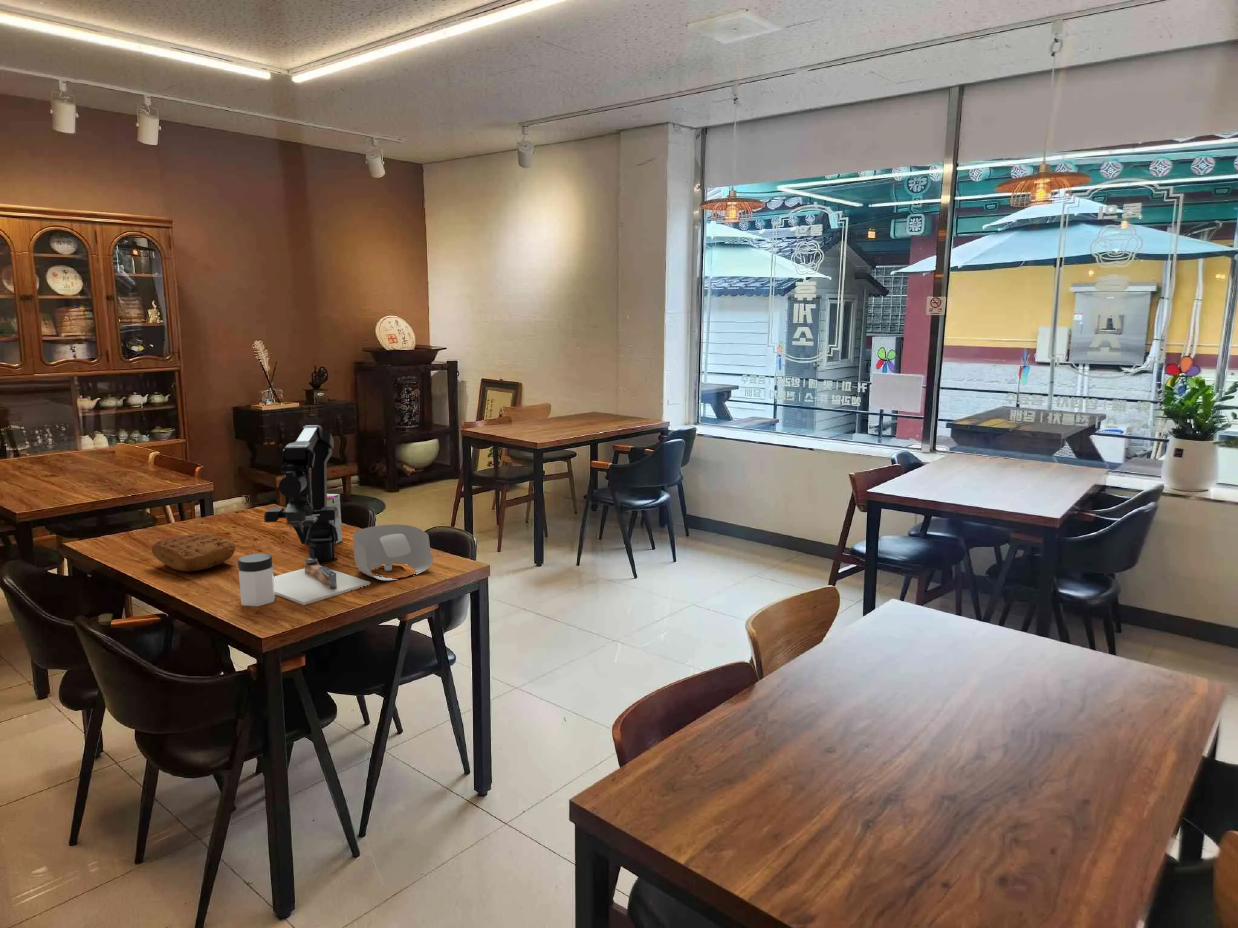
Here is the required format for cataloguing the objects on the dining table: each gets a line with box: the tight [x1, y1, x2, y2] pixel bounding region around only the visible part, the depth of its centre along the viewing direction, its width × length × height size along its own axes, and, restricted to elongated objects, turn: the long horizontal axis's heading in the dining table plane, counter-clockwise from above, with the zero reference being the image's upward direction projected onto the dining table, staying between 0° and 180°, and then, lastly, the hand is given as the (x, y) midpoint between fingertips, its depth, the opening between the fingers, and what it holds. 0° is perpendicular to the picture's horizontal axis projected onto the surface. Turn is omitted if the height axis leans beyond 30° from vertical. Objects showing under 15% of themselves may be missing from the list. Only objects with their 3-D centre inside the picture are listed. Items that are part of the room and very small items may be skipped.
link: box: [304, 562, 330, 585], centre depth 226 cm, size 17×4×2 cm, turn 40°
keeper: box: [305, 557, 337, 590], centre depth 224 cm, size 3×21×4 cm, turn 40°
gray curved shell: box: [352, 524, 434, 581], centre depth 234 cm, size 20×19×12 cm
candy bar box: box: [327, 493, 343, 545], centre depth 264 cm, size 11×5×16 cm, turn 84°
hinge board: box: [273, 567, 371, 606], centre depth 222 cm, size 21×26×1 cm
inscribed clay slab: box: [151, 532, 236, 572], centre depth 239 cm, size 22×17×8 cm
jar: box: [237, 553, 276, 607], centre depth 208 cm, size 9×8×12 cm
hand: (303, 543), depth 222 cm, fingers closed
